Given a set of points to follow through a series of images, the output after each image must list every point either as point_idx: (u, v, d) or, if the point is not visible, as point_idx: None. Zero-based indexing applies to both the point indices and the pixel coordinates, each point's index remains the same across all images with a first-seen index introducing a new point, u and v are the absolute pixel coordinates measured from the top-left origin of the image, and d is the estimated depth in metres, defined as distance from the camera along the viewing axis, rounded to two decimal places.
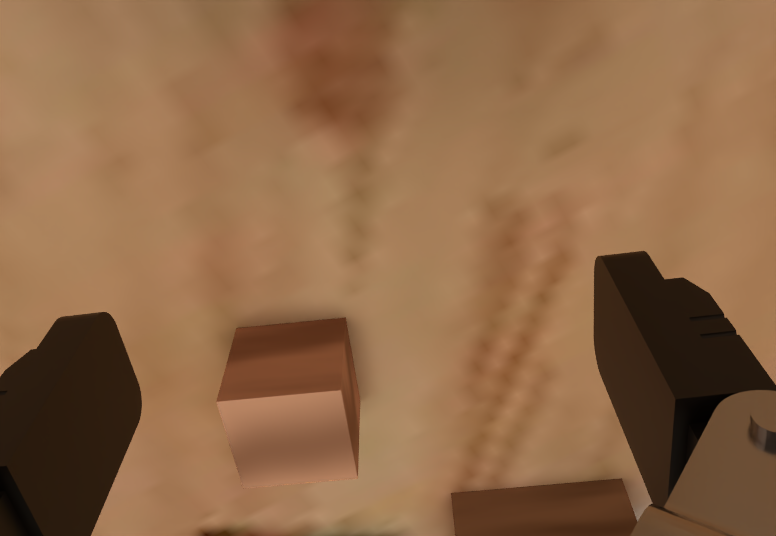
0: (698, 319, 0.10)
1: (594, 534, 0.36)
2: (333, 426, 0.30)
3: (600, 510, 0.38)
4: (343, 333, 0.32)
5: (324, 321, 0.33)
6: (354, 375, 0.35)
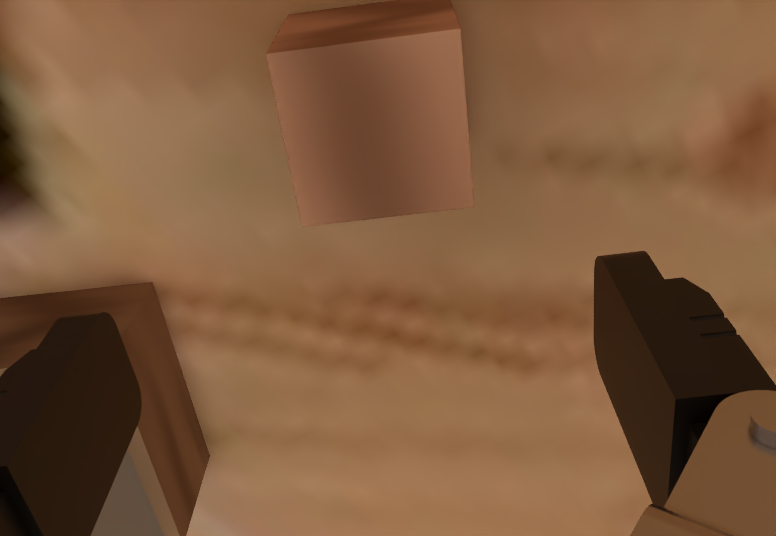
0: (698, 319, 0.10)
1: (177, 474, 0.29)
2: (406, 195, 0.21)
3: (190, 460, 0.30)
4: None
5: None
6: None
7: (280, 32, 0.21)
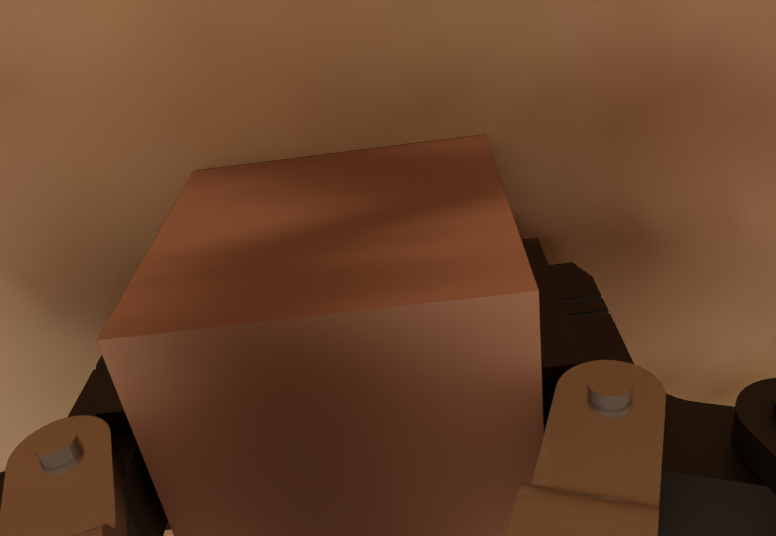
0: (577, 300, 0.11)
1: None
2: None
3: None
4: None
5: None
6: None
7: (157, 241, 0.10)
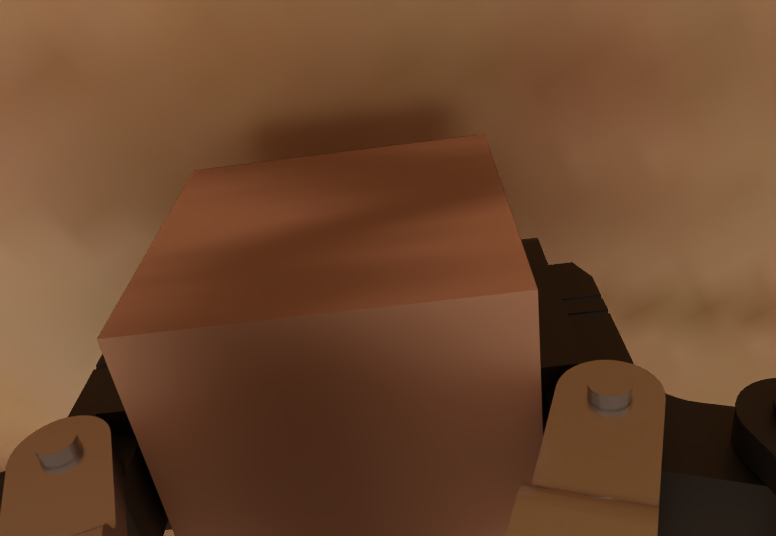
0: (577, 300, 0.11)
1: None
2: None
3: None
4: None
5: None
6: None
7: (157, 240, 0.11)
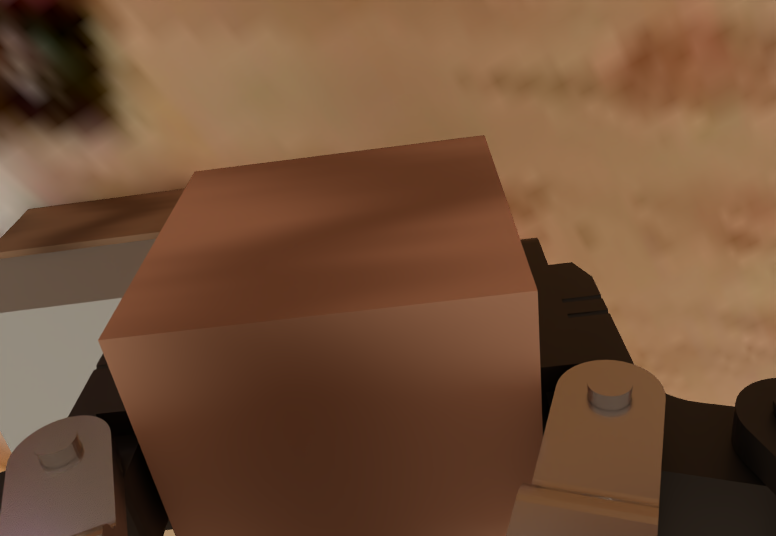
0: (577, 300, 0.11)
1: None
2: None
3: None
4: None
5: None
6: None
7: (158, 241, 0.11)
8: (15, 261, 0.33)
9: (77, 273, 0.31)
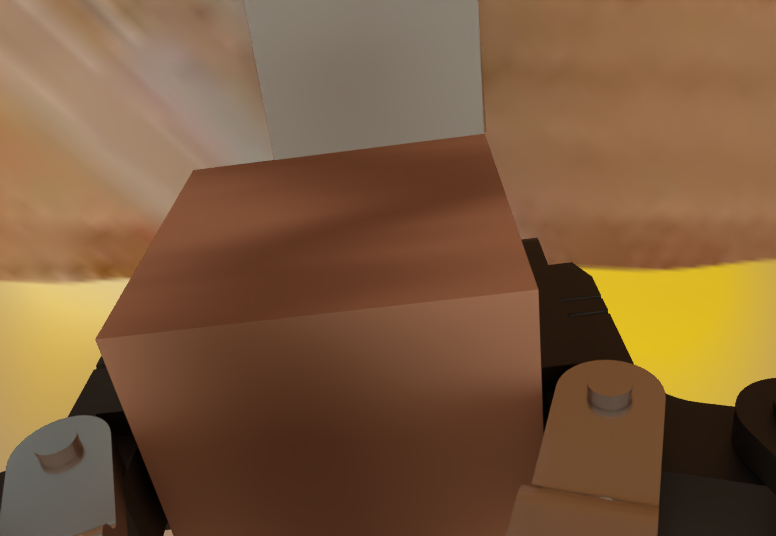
0: (577, 300, 0.11)
1: None
2: None
3: None
4: None
5: None
6: None
7: (156, 240, 0.10)
8: None
9: None
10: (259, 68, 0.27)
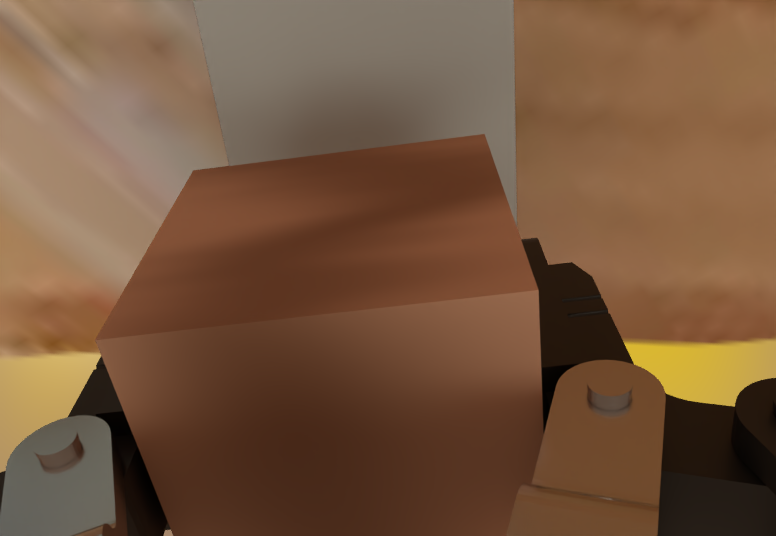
0: (577, 300, 0.11)
1: None
2: None
3: None
4: None
5: None
6: None
7: (156, 241, 0.10)
8: None
9: None
10: (223, 120, 0.20)
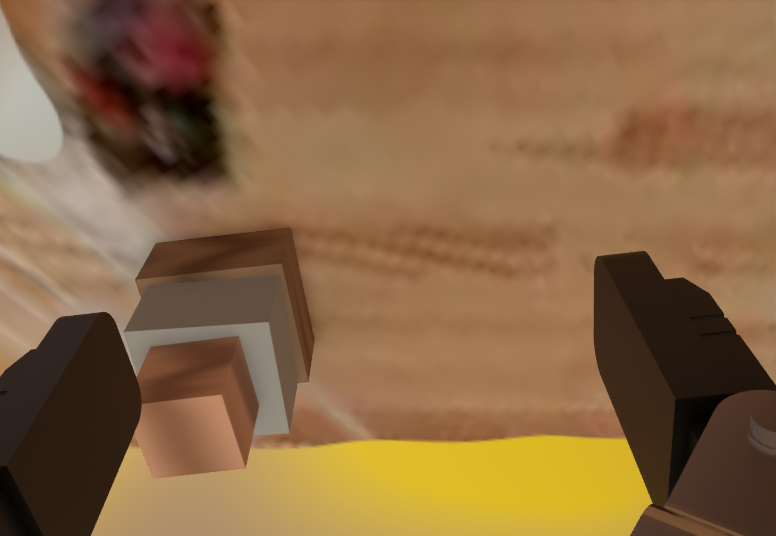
0: (698, 319, 0.10)
1: (304, 341, 0.49)
2: (207, 464, 0.39)
3: (308, 337, 0.50)
4: None
5: (255, 395, 0.43)
6: None
7: (138, 375, 0.39)
8: (163, 287, 0.45)
9: (216, 301, 0.43)
10: None
